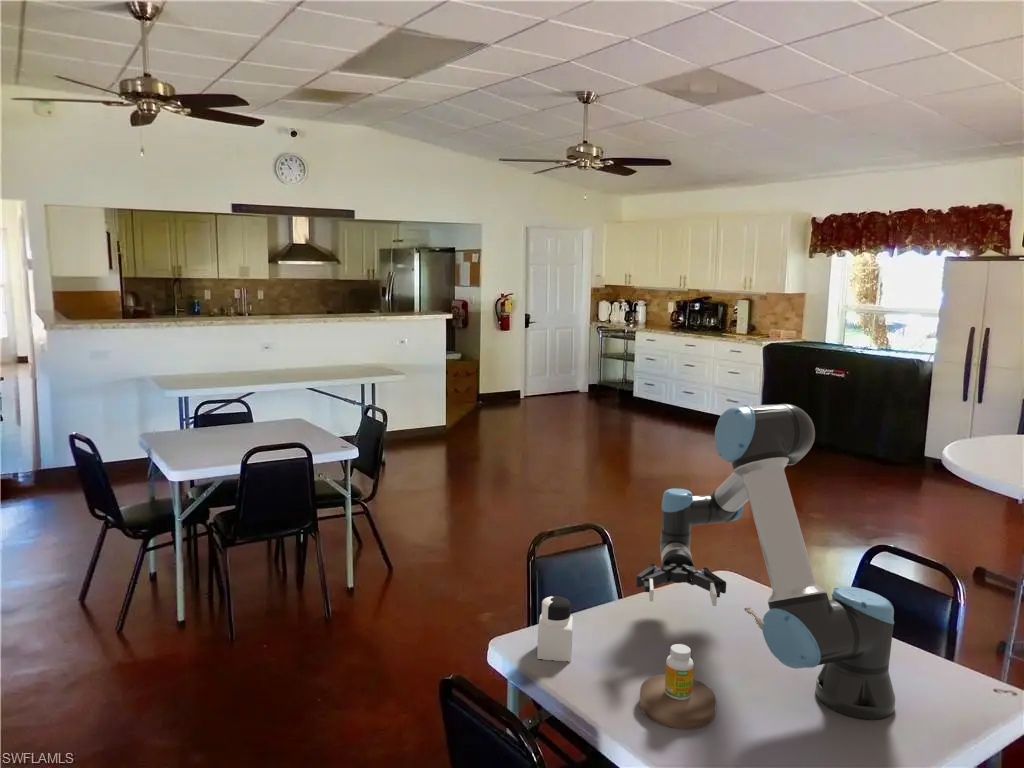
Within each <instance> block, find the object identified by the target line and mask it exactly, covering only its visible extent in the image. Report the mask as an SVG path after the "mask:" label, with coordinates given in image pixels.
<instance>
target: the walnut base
mask: <svg viewBox="0 0 1024 768" xmlns="http://www.w3.org/2000/svg"><path fill="white" fill-rule="evenodd" d="M665 676H666V673H664V674H658V675H654V676H651V677H649V678H647V679H646V680H644V681H643V682H642V683H641V686H640V690H639V691H640V692H639V707H640V710H641V711H642V713H643V714H644V715H645V716H646V717H647V718H648V719H650V720H651V721H653V722H655V723H657V724H658V725H662V726H664V727H667V728H671V729H678V730H693V729H694V730H695V729H700V728H703V727H705V726H708V725H709V724H710V723H712V722H713V720H714V719H715V716H716V705H717V698H716V695H715V693H714V691H713V689H712V688H710V687H709V685H707V684H705V683H704V682H702V681H700V680H698V679H695V678H693V682H692V695H691V697H690V698H688V699H686V700H677V699H673V698H671V697H669V696H668V695H667V694H666V693H665Z"/></svg>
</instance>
